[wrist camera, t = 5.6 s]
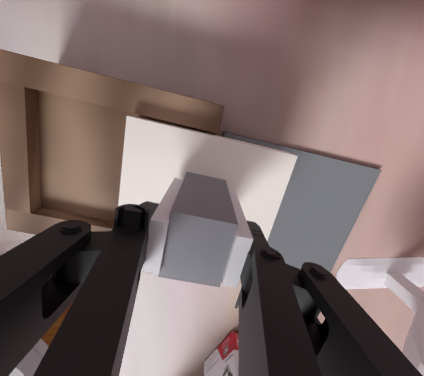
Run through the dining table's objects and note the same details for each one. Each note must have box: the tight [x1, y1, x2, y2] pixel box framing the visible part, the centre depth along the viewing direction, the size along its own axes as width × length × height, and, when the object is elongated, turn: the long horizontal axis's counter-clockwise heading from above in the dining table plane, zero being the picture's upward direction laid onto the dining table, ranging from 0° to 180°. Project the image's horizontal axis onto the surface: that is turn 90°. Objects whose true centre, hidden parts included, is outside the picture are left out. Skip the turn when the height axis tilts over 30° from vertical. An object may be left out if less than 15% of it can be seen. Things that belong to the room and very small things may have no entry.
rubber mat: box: [223, 132, 381, 272], centre depth 25 cm, size 18×16×1 cm
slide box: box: [0, 49, 224, 235], centre depth 19 cm, size 16×14×6 cm
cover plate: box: [118, 116, 298, 287], centre depth 14 cm, size 12×9×9 cm
